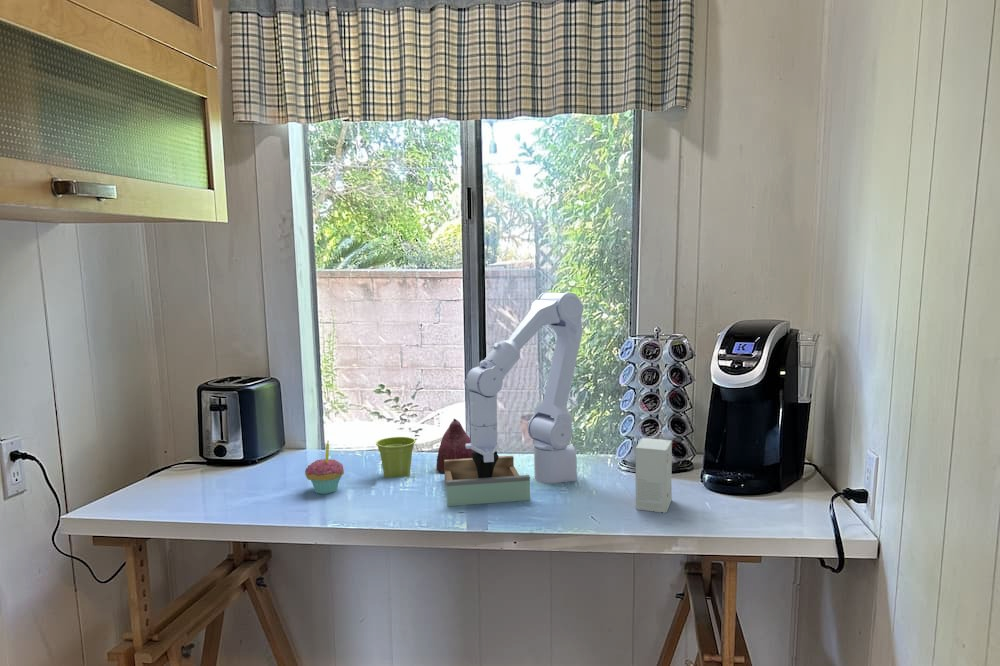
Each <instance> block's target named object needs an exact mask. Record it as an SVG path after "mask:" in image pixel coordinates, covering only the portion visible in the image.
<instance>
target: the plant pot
mask: <svg viewBox="0 0 1000 666" xmlns="http://www.w3.org/2000/svg"><path fill="white" fill-rule="evenodd" d="M415 444H416V439H415V438H413V437H409V436H393V437H392V436H391V437H386V438H381V439H380V440H379V439H378V440H377V441H376V442H375V445H376V447H377V449H378V451H379V455H380V460H381V465H382V471H383V476H384V478H385V479H388V478H389V479H391V478H392V479H393V478H405V477H406V478H408V477H409V476H410V475H411V467H412V456H413V449H414V446H415Z"/></svg>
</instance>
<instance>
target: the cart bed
mask: <svg viewBox="0 0 1000 666" xmlns="http://www.w3.org/2000/svg"><path fill="white" fill-rule="evenodd" d="M498 456H499V455H498ZM514 465H515V464H514V455H502V456H501V455H500V456H499V458H498V460H497V462H496V464H495V467H494V470H493V474H492V477H506V476H521V475H520V474H519V471H518V470H517V468H516V467H515V466H514ZM444 471H445V474H444V482H445V488H446V489H447V485H446V480H461V479H476V478H478V474H477V469H476V465H475V462H474V460H473V458H467V459H451V460H444Z"/></svg>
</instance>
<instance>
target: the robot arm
mask: <svg viewBox="0 0 1000 666" xmlns="http://www.w3.org/2000/svg"><path fill="white" fill-rule="evenodd" d="M583 313H584V304H583V303H582V301H581V300H580V298H579V296H578V295H577V294H575V293H574V292H564V293H563V292H549V291H546V292H545V291H544V292H542V293H540V294H539V296H538V297H537V298H536V299H535V300H534V301H533V302H532V303H531V307H530V310H529V311H528V313H527V314H526V315H525V316H524V318H523V319H522V321H521V322H520V323H519V324H518V326H517V327H516V328H515V330H514V331H513V333H512V334H511V335H510V336H509V338H508V339H505V340H499V342H495V343H494V344H493V345H492V350H491V351H489V353H488V355H487V356H486V357H485V358H484V359H482V360H480V362H479V365H478V366H475V367H473V368H471V369H470V370H469V371H468V372H467V375H466V378H465V380H463V383H464V386H465V389H466V390H467V391H468V395H469V409H470V411H469V414H470V415H469V416H470V419H469V420H470V421H469V423H470V439H471V443H467V444H465V447H466V449H472V450H474V451H476V452H471V456H472V458H473V460H474V462H475V465H476V469H477V474H478V478H491V477H492V474H493V470H494V467H495V464H496V462H497V460H498V458H499V454H498V452H497V450H498V449H499V445H500V444H499V442H498V395H497V394H498V393H499V392H501V390H502V387H503V384H504V383H503V382H504V379H505V377H506V376H507V374H508V373H509V372H510V371H511V370H512V369H513V367H514V366H515V365H516V363H517V362H518V361H519V360H520V359H521V350H522V348H524V347H525V345H527V343H528V342H529V341H530V340H531V339H532V338H533V337H534V336H535V335H537V333H538V332H539V331H540V330H541V329H542V327H544V326H548V325H549V326H550V327H551V329H552V330H553V331H554V332H555V334H556V340H555V345H554V349H553V353H552V354H553V355H552V359H551V364H550V367H549V373H548V377H547V382H546V386H545V391H544V395H543V400H542V402H541V403H540V404H538V405H537V406H536V407H535V408H534V411H533V415H532V416H531V418H530V419H529V420H528V424H527V434H528V436H529V438H531V439H532V445H533V451H534V452H533V456H534V460H533V462H534V463H533V465H534V466H533V467H534V468H533V469H534V480H535V481H536V482H538V483H539V482H540V483H542V484H559V483H563V482H564V483H566V482H576V481H578V479H577V478H578V475H577V474H578V473H577V469H578V467H577V460H578V459H577V452H576V448H575V446H574V444H570V442H571V440H572V437H573V427H572V424H573V423H572V422H573V416H572V414H571V412H570V411H569V409H568V406H567V405H568V402H569V397H570V391H571V388H572V382H573V379H574V378H573V377H574V375H575V369H576V364H577V361H578V355H579V350H580V347H581V346H580V345H581V341H582V337H583V324H582V323H583V322H582V317H583Z"/></svg>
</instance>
